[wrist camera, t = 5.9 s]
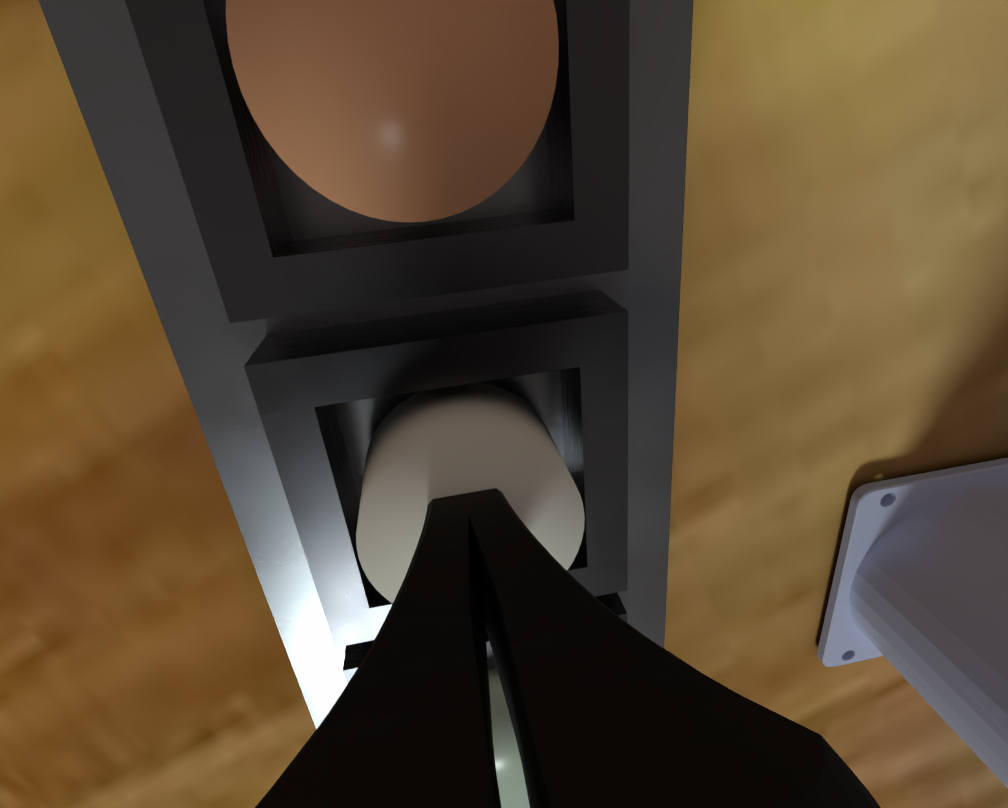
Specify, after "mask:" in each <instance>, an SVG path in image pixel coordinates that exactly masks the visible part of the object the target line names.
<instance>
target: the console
mask: <svg viewBox="0 0 1008 808" xmlns="http://www.w3.org/2000/svg"><path fill="white" fill-rule="evenodd" d="M553 1H554V6H555V11H556V17H557V27H558V37H559V56H558V71H557V79H556V87H555V91H554V95H553V100H552V104H551V108H550V111H549V114H548V117H547V119H546V122H545V125H544V128H543V130H542V132H541V134H540V136H539V138H538V140H537V142H536V144H535V146H534V148H533V149H532V151H531V152H530V154H529V156H528V157H527V159H526V160H525V162H524V163H523V165H522V166H521V167H520V168H519V169H518V170H517V172H516V173H515V174H514V175H513V176H512V177H511V179H510V180H509V181H508V182H506V183H505V184H504V185H503V186H502V187H501V188H500V189H499V190H498V191H496V192H495V193H494V194H493V195H491V196H490V197H488V198H487V199H485V200H484V201H482V202H481V203H479V204H477V205H475V206H473V207H471V208H469V209H467V210H465V211H463V212H461V213H458V214H455V215H452V216H449V217H446V218H442V219H437V220H431V221H426V222H396V221H386V220H382V219H377V218H373V217H368V216H365V215H363V214H360V213H357V212H354V211H351V210H349V209H347V208H345V207H343V206H341V205H339V204H337V203H335V202H333V201H331V200H329V199H328V198H326V197H325V196H323V195H322V194H320V193H319V192H317V191H316V190H314V189H313V188H312V187H310V186H309V185H308V184H307V183H306V182H304V181H303V180H302V179H301V178H300V177H299V176H297V175H296V174H295V173H294V172H293V171H292V170H291V169H290V168H289V167H288V165H287V164H286V163H285V162H284V161H283V160H282V159H281V158H280V157H279V156H278V154H277V153H276V152H275V150H274V149H273V148H272V146H271V145H270V144H269V142H268V141H267V140H266V138H265V137H264V135H263V134H262V132H261V130H260V129H259V127H258V125H257V123H256V122H255V120H254V118H253V117H252V115H251V113H250V110H249V108H248V106H247V104H246V101H245V99H244V97H243V95H242V93H241V90H240V87H239V83H238V80H237V77H236V74H235V71H234V68H233V63H232V59H231V54H230V49H229V44H228V35H227V24H226V0H39V2H40V5H41V8H42V10H43V13H44V16H45V18H46V21H47V23H48V26H49V29H50V31H51V34H52V36H53V39H54V42H55V44H56V47H57V50H58V52H59V55H60V57H61V60H62V63H63V65H64V68H65V71H66V73H67V76H68V78H69V81H70V84H71V86H72V89H73V92H74V94H75V97H76V99H77V102H78V105H79V107H80V110H81V113H82V115H83V118H84V120H85V123H86V126H87V128H88V131H89V134H90V136H91V139H92V141H93V144H94V147H95V149H96V152H97V155H98V157H99V160H100V162H101V165H102V168H103V170H104V173H105V176H106V178H107V181H108V183H109V186H110V189H111V191H112V194H113V197H114V199H115V202H116V204H117V207H118V210H119V212H120V215H121V218H122V220H123V223H124V225H125V228H126V231H127V233H128V236H129V239H130V241H131V244H132V246H133V249H134V252H135V254H136V257H137V260H138V262H139V265H140V267H141V270H142V273H143V275H144V278H145V281H146V283H147V286H148V288H149V291H150V294H151V296H152V299H153V302H154V304H155V307H156V309H157V312H158V315H159V317H160V320H161V323H162V325H163V328H164V330H165V333H166V336H167V338H168V341H169V344H170V346H171V349H172V351H173V354H174V357H175V359H176V362H177V365H178V367H179V370H180V372H181V375H182V378H183V380H184V383H185V386H186V388H187V391H188V393H189V396H190V399H191V401H192V404H193V407H194V409H195V412H196V414H197V417H198V420H199V422H200V425H201V428H202V430H203V433H204V435H205V438H206V441H207V443H208V446H209V449H210V451H211V454H212V456H213V459H214V462H215V464H216V467H217V470H218V472H219V475H220V477H221V480H222V483H223V485H224V488H225V491H226V493H227V496H228V498H229V501H230V504H231V506H232V509H233V512H234V514H235V517H236V519H237V522H238V525H239V527H240V530H241V533H242V535H243V538H244V540H245V543H246V546H247V548H248V551H249V554H250V556H251V559H252V561H253V564H254V567H255V569H256V572H257V575H258V577H259V580H260V582H261V585H262V588H263V590H264V593H265V596H266V598H267V601H268V603H269V606H270V609H271V611H272V614H273V617H274V619H275V622H276V624H277V627H278V630H279V632H280V635H281V638H282V640H283V643H284V645H285V648H286V651H287V653H288V656H289V659H290V661H291V664H292V666H293V669H294V672H295V674H296V677H297V680H298V682H299V685H300V687H301V690H302V693H303V695H304V698H305V701H306V703H307V706H308V708H309V711H310V714H311V716H312V719H313V722H314V724H315V727H316V729H317V728H318V727H319V725H320V724H321V723H322V721H323V720H324V718H325V717H326V715H327V714H328V713H329V711H330V710H331V708H332V707H333V705H334V704H335V702H336V701H337V699H338V698H339V696H340V695H341V693H342V692H343V690H344V689H345V687H346V686H347V684H348V682H349V681H350V679H351V678H352V676H353V675H354V673H355V672H356V670H357V668H358V667H359V665H360V664H361V662H362V660H363V658H364V657H365V655H366V653H367V652H368V650H369V648H370V647H371V645H372V643H373V641H374V639H375V638H376V636H377V634H378V632H379V630H380V628H381V626H382V625H383V623H384V621H385V619H386V617H387V615H388V613H389V610H390V608H391V606H392V604H393V603H391V602H390V601H388V600H387V599H386V598H385V597H383V596H382V595H381V594H380V593H379V592H378V591H377V590H376V589H375V587H374V586H373V585H372V584H371V582H370V581H369V580H368V578H367V576H366V574H365V573H364V571H363V569H362V566H361V563H360V561H359V558H358V552H357V547H356V531H357V523H358V515H359V508H360V500H361V492H362V484H363V476H364V468H365V461H366V455H367V450H368V447H369V444H370V441H371V439H372V437H373V435H374V433H375V431H376V429H377V428H378V426H379V425H380V423H381V422H382V420H383V419H384V418H385V417H386V416H387V415H388V414H389V413H390V411H392V410H393V409H394V408H395V407H396V406H397V405H399V404H400V403H401V402H403V401H404V400H406V399H407V398H409V397H410V396H412V395H414V394H416V393H418V392H420V391H424V390H430V389H437V388H443V387H450V386H457V385H463V384H470V383H476V382H478V383H485V384H490V385H493V386H497V387H500V388H503V389H505V390H507V391H510V392H512V393H514V394H515V395H517V396H519V397H520V398H522V399H523V400H524V401H526V402H527V403H528V404H529V405H531V406H532V407H533V409H534V410H535V411H536V412H537V413H538V414H539V415H540V417H541V418H542V420H543V421H544V423H545V424H546V426H547V428H548V430H549V432H550V434H551V436H552V438H553V440H554V442H555V444H556V446H557V448H558V450H559V452H560V454H561V456H562V458H563V460H564V462H565V464H566V466H567V468H568V470H569V472H570V475H571V477H572V479H573V481H574V483H575V485H576V487H577V489H578V491H579V493H580V496H581V499H582V503H583V508H584V516H585V520H584V532H583V537H582V542H581V545H580V547H579V550H578V553H577V555H576V557H575V559H574V561H573V563H572V564H571V566H570V567H569V569H568V570H567V571H568V572H569V573H570V574H571V575H572V576H573V577H574V578H575V579H576V580H577V581H578V582H579V583H580V584H581V585H582V586H584V587H585V588H586V589H587V590H588V591H589V592H590V593H591V594H592V595H594V596H595V597H596V598H597V599H598V600H599V601H601V602H602V603H603V604H604V605H606V606H607V607H608V608H609V609H610V610H612V611H613V612H614V613H615V614H617V615H618V616H619V617H620V618H622V619H623V620H624V621H626V622H627V623H628V624H630V625H631V626H632V627H634V628H635V629H636V630H638V631H639V632H640V633H642V634H643V635H644V636H646V637H647V638H649V639H650V640H652V641H653V642H655V643H656V644H658V645H659V646H661V647H662V648H664V636H665V614H666V592H667V569H668V547H669V525H670V503H671V481H672V459H673V437H674V414H675V392H676V370H677V348H678V326H679V304H680V282H681V259H682V237H683V215H684V193H685V171H686V149H687V127H688V104H689V82H690V60H691V38H692V16H693V0H553ZM485 630H486V626H485ZM486 644H487V659H488V670H490V669H495V668H497V667H496V663H495V660H494V656H493V652H492V648H491V645H490V641H489V637H488V634H487V630H486Z"/></svg>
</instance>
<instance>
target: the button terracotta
mask: <svg viewBox="0 0 1008 808" xmlns="http://www.w3.org/2000/svg"><path fill="white" fill-rule="evenodd" d="M226 24H227V35H228V44H229V49H230V54H231V59H232V63H233V68H234V71H235V74H236V77H237V80H238V83H239V87H240V90H241V93H242V95H243V97H244V99H245V101H246V104H247V106H248V108H249V110H250V113H251V115H252V117H253V118H254V120H255V122H256V123H257V125H258V127H259V129H260V130H261V132H262V134H263V135H264V137H265V138H266V140H267V141H268V142H269V144H270V145H271V146H272V148H273V149H274V150H275V152H276V153H277V154H278V156H279V157H280V158H281V159H282V160H283V161H284V162H285V163H286V164H287V165H288V167H289V168H290V169H291V170H292V171H293V172H294V173H295V174H296V175H297V176H299V177H300V178H301V179H302V180H303V181H304V182H306V183H307V184H308V185H309V186H310V187H312V188H313V189H314V190H316V191H317V192H319V193H320V194H322V195H323V196H325V197H326V198H328V199H329V200H331V201H333V202H335V203H337V204H339V205H341V206H343V207H345V208H347V209H349V210H351V211H354V212H357V213H360V214H363V215H365V216H368V217H373V218H377V219H382V220H386V221H396V222H426V221H431V220H437V219H442V218H446V217H449V216H452V215H455V214H458V213H461V212H463V211H465V210H467V209H469V208H471V207H473V206H475V205H477V204H479V203H481V202H482V201H484V200H485V199H487V198H488V197H490V196H491V195H493V194H494V193H495V192H496V191H498V190H499V189H500V188H501V187H502V186H503V185H504V184H505V183H506V182H508V181H509V180H510V179H511V177H512V176H513V175H514V174H515V173H516V172H517V170H518V169H519V168H520V167H521V166H522V165H523V163H524V162H525V160H526V159H527V157H528V156H529V154H530V152H531V151H532V149H533V148H534V146H535V144H536V142H537V140H538V138H539V136H540V134H541V132H542V130H543V128H544V125H545V122H546V119H547V117H548V114H549V111H550V108H551V104H552V100H553V95H554V91H555V87H556V79H557V71H558V56H559V37H558V27H557V17H556V11H555V6H554V1H553V0H226Z"/></svg>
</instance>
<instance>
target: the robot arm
mask: <svg viewBox="0 0 1008 808" xmlns="http://www.w3.org/2000/svg"><path fill="white" fill-rule="evenodd" d="M485 626H486V630H487V634H488V637H489V641H490V645H491V648H492V652H493V656H494V660H495V663H496V667H497V671H498V674H499V678H500V682H501V685H502V689H503V693H504V696H505V700H506V704H507V707H508V711H509V715H510V718H511V722H512V726H513V729H514V733H515V737H516V741H517V745H518V750H519V754H520V758H521V762H522V767H523V773H524V778H525V784H526V789H527V794H528V800H529V805H530V808H880V806H879V805H878V803H877V802H876V801H875V799H874V798H873V796H872V795H871V794H870V792H869V791H868V790H867V789H866V787H865V786H864V785H863V784H862V783H861V781H860V780H859V779H858V778H857V776H856V775H855V774H854V773H853V772H852V770H851V769H850V768H849V767H848V766H847V765H846V763H845V762H844V761H843V760H842V759H841V758H840V757H839V755H838V754H837V753H836V752H835V751H834V750H833V749H832V747H831V746H830V745H829V744H828V743H827V742H826V741H825V739H824V738H823V737H822V736H821V735H820V734H818V733H816V732H814V731H812V730H810V729H808V728H806V727H804V726H801V725H799V724H797V723H795V722H793V721H791V720H789V719H787V718H785V717H783V716H781V715H779V714H777V713H775V712H773V711H771V710H769V709H767V708H765V707H763V706H761V705H759V704H757V703H755V702H753V701H751V700H749V699H747V698H745V697H743V696H741V695H739V694H737V693H736V692H734V691H732V690H730V689H728V688H727V687H725V686H723V685H721V684H720V683H718V682H716V681H714V680H713V679H711V678H709V677H707V676H706V675H704V674H702V673H701V672H699V671H698V670H696V669H695V668H693V667H691V666H690V665H688V664H687V663H685V662H684V661H682V660H681V659H679V658H678V657H676V656H675V655H673V654H672V653H670V652H668V651H667V650H665V649H664V648H662V647H661V646H659V645H658V644H656V643H655V642H653V641H652V640H650V639H649V638H647V637H646V636H644V635H643V634H642V633H640V632H639V631H638V630H636V629H635V628H634V627H632V626H631V625H630V624H628V623H627V622H626V621H624V620H623V619H622V618H620V617H619V616H618V615H617V614H615V613H614V612H613V611H612V610H610V609H609V608H608V607H607V606H606V605H604V604H603V603H602V602H601V601H599V600H598V599H597V598H596V597H595V596H594V595H592V594H591V593H590V592H589V591H588V590H587V589H586V588H585V587H584V586H582V585H581V584H580V583H579V582H578V581H577V580H576V579H575V578H574V577H573V576H572V575H571V574H570V573H569V572H568V571H567V570H566V569H565V568H564V567H563V566H562V565H561V564H560V563H559V562H558V561H557V560H556V559H555V558H554V557H553V556H552V555H551V554H550V553H549V552H548V551H547V550H546V549H545V547H544V546H543V545H542V544H541V543H540V542H539V541H538V540H537V539H536V537H535V536H534V535H533V534H532V533H531V532H530V530H529V529H528V528H527V527H526V526H525V524H524V523H523V522H522V520H521V519H520V518H519V517H518V515H517V514H516V513H515V511H514V510H513V509H512V507H511V506H510V504H509V503H508V501H507V500H506V498H505V496H504V495H503V493H502V492H501V491H500V490H498V489H497V488H493V489H487V490H482V491H476V492H470V493H464V494H459V495H453V496H447V497H441V498H436V499H432V500H431V502H430V503H429V504H428V506H427V512H426V517H425V521H424V525H423V529H422V532H421V535H420V538H419V541H418V544H417V547H416V550H415V553H414V555H413V558H412V560H411V563H410V565H409V568H408V571H407V573H406V576H405V578H404V580H403V583H402V585H401V587H400V589H399V591H398V593H397V596H396V598H395V600H394V602H393V604H392V606H391V608H390V610H389V613H388V615H387V617H386V619H385V621H384V623H383V625H382V626H381V628H380V630H379V632H378V634H377V636H376V638H375V639H374V641H373V643H372V645H371V647H370V648H369V650H368V652H367V653H366V655H365V657H364V658H363V660H362V662H361V664H360V665H359V667H358V668H357V670H356V672H355V673H354V675H353V676H352V678H351V679H350V681H349V682H348V684H347V686H346V687H345V689H344V690H343V692H342V693H341V695H340V696H339V698H338V699H337V701H336V702H335V704H334V705H333V707H332V708H331V710H330V711H329V713H328V714H327V715H326V717H325V718H324V720H323V721H322V723H321V724H320V725H319V727H318V728H317V730H316V731H315V732H314V733H313V735H312V736H311V737H310V739H309V740H308V741H307V743H306V744H305V745H304V746H303V748H302V749H301V750H300V752H299V753H298V754H297V755H296V757H295V758H294V759H293V761H292V762H291V763H290V765H289V766H288V767H287V768H286V770H285V771H284V772H283V774H282V775H281V776H280V777H279V779H278V780H277V781H276V783H275V784H274V785H273V787H272V788H271V789H270V790H269V791H268V793H267V794H266V795H265V796H264V797H263V799H262V800H261V801H260V802H259V803H258V805H257V806H256V807H255V808H502V807H501V801H500V794H499V787H498V781H497V774H496V766H495V756H494V746H493V734H492V719H491V704H490V689H489V674H488V659H487V644H486V630H485ZM880 656H885V658H886V659H887V660H888V661H889V662H890V663H891V664H892V665H893V666H894V667H895V668H896V669H897V670H898V671H899V673H900V674H901V675H902V676H903V677H904V678H905V679H906V680H907V681H908V682H909V683H910V684H911V685H912V686H913V688H914V689H915V690H916V691H917V692H918V693H919V694H920V695H921V696H922V697H923V698H924V699H925V700H926V701H927V702H928V704H929V705H930V706H931V707H932V708H933V709H934V710H935V711H936V712H937V713H938V714H939V715H940V716H941V717H942V719H943V720H944V721H945V722H946V723H947V724H948V725H949V726H950V727H951V728H952V729H953V730H954V731H955V732H956V734H957V735H958V736H959V737H960V738H961V739H962V740H963V741H964V742H965V743H966V744H967V745H968V746H969V747H970V748H971V750H972V751H973V752H974V753H975V754H976V755H977V756H978V757H979V758H980V759H981V760H982V761H983V762H984V763H985V765H986V766H987V767H988V768H989V769H990V770H991V771H992V772H993V773H994V774H995V775H996V776H997V777H998V778H999V780H1000V781H1001V782H1002V783H1003V784H1004V785H1005V786H1006V787H1007V788H1008V458H1003V459H997V460H992V461H986V462H981V463H975V464H970V465H965V466H959V467H954V468H948V469H943V470H937V471H932V472H927V473H921V474H916V475H910V476H905V477H899V478H894V479H889V480H883V481H878V482H872V483H867V484H864V485H862V486H860V487H859V488H857V489H856V490H855V491H854V493H853V494H852V497H851V500H850V505H849V509H848V514H847V519H846V523H845V528H844V532H843V537H842V541H841V546H840V550H839V555H838V560H837V564H836V569H835V573H834V578H833V582H832V587H831V592H830V596H829V601H828V605H827V610H826V614H825V619H824V624H823V628H822V633H821V637H820V642H819V646H818V651H817V657H818V658H819V659H820V661H821V662H822V663H823V664H824V666H827V667H835V666H839V665H844V664H848V663H853V662H857V661H862V660H867V659H871V658H876V657H880Z"/></svg>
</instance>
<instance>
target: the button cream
mask: <svg viewBox="0 0 1008 808" xmlns="http://www.w3.org/2000/svg"><path fill="white" fill-rule="evenodd" d="M493 488H497V489H498V490H500V491H501V492H502V493H503V495H504V496H505V498H506V500H507V501H508V503H509V504H510V506H511V507H512V509H513V510H514V511H515V513H516V514H517V515H518V517H519V518H520V519H521V520H522V522H523V523H524V524H525V526H526V527H527V528H528V529H529V530H530V532H531V533H532V534H533V535H534V536H535V537H536V539H537V540H538V541H539V542H540V543H541V544H542V545H543V546H544V547H545V549H546V550H547V551H548V552H549V553H550V554H551V555H552V556H553V557H554V558H555V559H556V560H557V561H558V562H559V563H560V564H561V565H562V566H563V567H564V568H565V569H566V570H568V569H569V567H570V566H571V564H572V563H573V561H574V559H575V557H576V555H577V553H578V550H579V547H580V545H581V542H582V537H583V532H584V520H585V516H584V508H583V503H582V499H581V496H580V493H579V491H578V489H577V487H576V485H575V483H574V481H573V479H572V477H571V475H570V472H569V470H568V468H567V466H566V464H565V462H564V460H563V458H562V456H561V454H560V452H559V450H558V448H557V446H556V444H555V442H554V440H553V438H552V436H551V434H550V432H549V430H548V428H547V426H546V424H545V423H544V421H543V420H542V418H541V417H540V415H539V414H538V413H537V412H536V411H535V410H534V409H533V407H532V406H531V405H529V404H528V403H527V402H526V401H524V400H523V399H522V398H520V397H519V396H517V395H515V394H514V393H512V392H510V391H507V390H505V389H503V388H500V387H497V386H493V385H490V384H485V383H478V382H476V383H470V384H463V385H457V386H450V387H443V388H437V389H430V390H424V391H420V392H418V393H416V394H414V395H412V396H410V397H409V398H407V399H406V400H404V401H403V402H401V403H400V404H399V405H397V406H396V407H395V408H394V409H393V410H392V411H390V413H389V414H388V415H387V416H386V417H385V418H384V419H383V420H382V422H381V423H380V425H379V426H378V428H377V429H376V431H375V433H374V435H373V437H372V439H371V441H370V444H369V447H368V450H367V455H366V461H365V468H364V476H363V484H362V492H361V500H360V508H359V515H358V523H357V531H356V547H357V552H358V558H359V561H360V563H361V566H362V569H363V571H364V573H365V574H366V576H367V578H368V580H369V581H370V582H371V584H372V585H373V586H374V587H375V589H376V590H377V591H378V592H379V593H380V594H381V595H382V596H383V597H385V598H386V599H387V600H388V601H390V602H391V603H393V602H394V600H395V598H396V596H397V593H398V591H399V589H400V587H401V585H402V583H403V580H404V578H405V576H406V573H407V571H408V568H409V565H410V563H411V560H412V558H413V555H414V553H415V550H416V547H417V544H418V541H419V538H420V535H421V532H422V529H423V525H424V521H425V517H426V512H427V506H428V504H429V503H430V502H431V500H432V499H436V498H441V497H447V496H453V495H459V494H464V493H470V492H476V491H482V490H487V489H493Z"/></svg>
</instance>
